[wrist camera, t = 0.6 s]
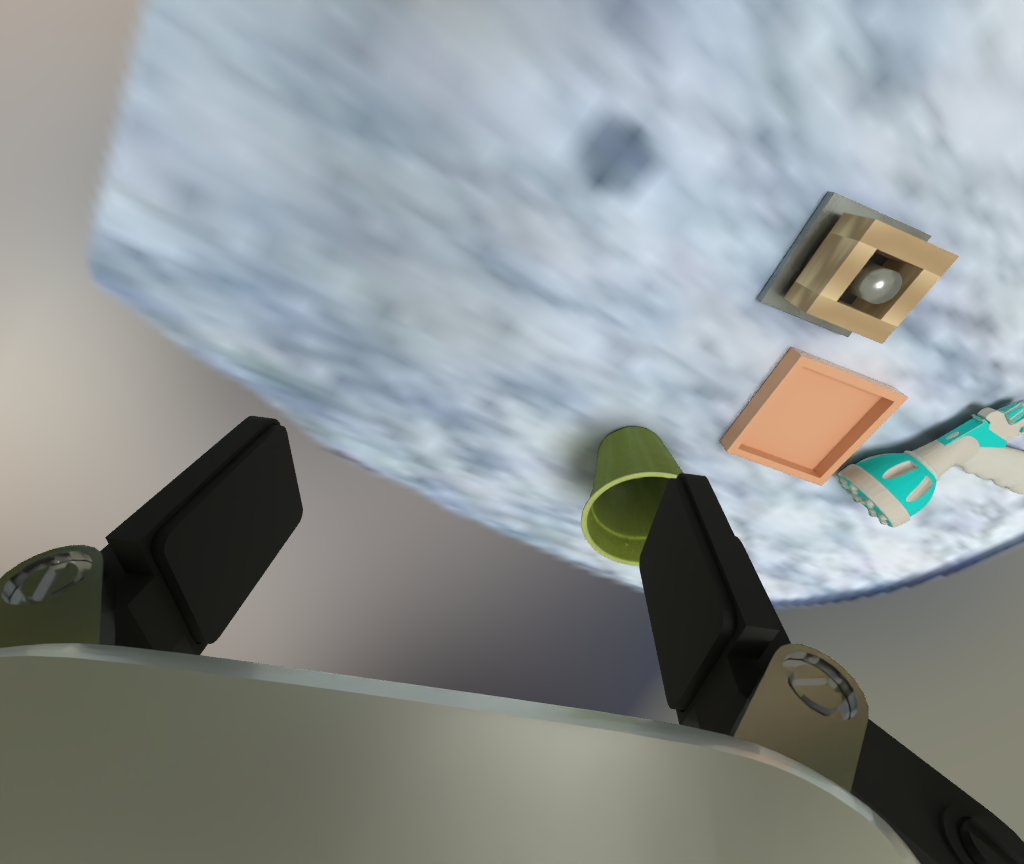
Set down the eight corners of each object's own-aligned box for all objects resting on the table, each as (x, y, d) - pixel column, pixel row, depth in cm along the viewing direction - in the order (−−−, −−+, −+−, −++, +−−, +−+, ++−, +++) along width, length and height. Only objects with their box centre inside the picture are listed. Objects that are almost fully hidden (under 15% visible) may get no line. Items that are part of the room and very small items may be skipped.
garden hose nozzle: (1160, 437, 40) (1007, 369, 35) (997, 569, 47) (856, 526, 43) (1068, 402, 46) (929, 341, 41) (938, 524, 54) (809, 483, 49)
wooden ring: (843, 212, 34) (875, 219, 30) (919, 246, 34) (959, 256, 31) (783, 298, 37) (805, 312, 34) (853, 326, 38) (882, 343, 35)
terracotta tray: (791, 346, 41) (801, 355, 40) (894, 387, 43) (908, 397, 41) (719, 440, 48) (726, 451, 46) (811, 473, 49) (821, 485, 47)
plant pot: (571, 413, 47) (576, 478, 38) (686, 401, 45) (720, 467, 36) (580, 496, 53) (585, 569, 44) (681, 489, 52) (709, 564, 42)
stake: (828, 191, 35) (879, 198, 29) (922, 234, 36) (989, 248, 30) (756, 298, 39) (789, 322, 34) (841, 333, 40) (886, 361, 35)
